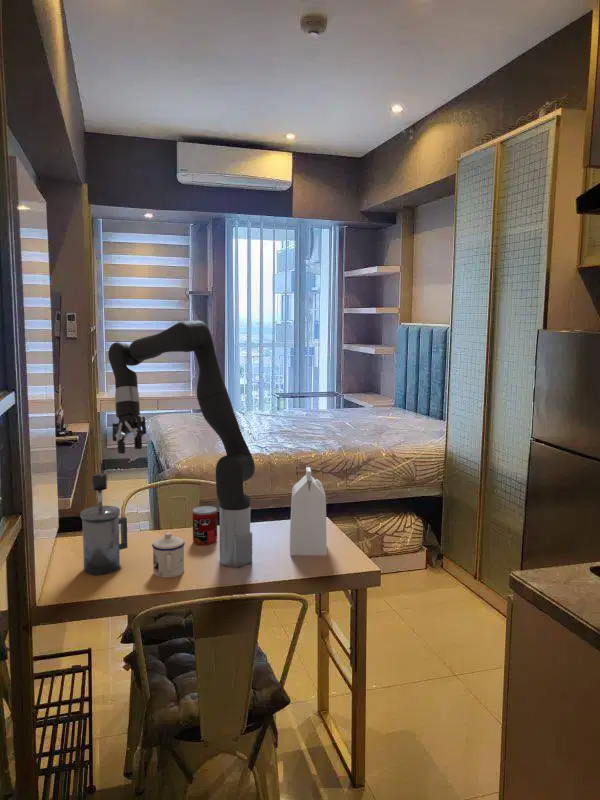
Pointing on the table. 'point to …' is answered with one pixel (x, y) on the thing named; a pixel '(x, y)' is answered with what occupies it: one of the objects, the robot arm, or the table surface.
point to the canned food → (205, 525)
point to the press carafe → (102, 539)
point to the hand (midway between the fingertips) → (129, 451)
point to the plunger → (99, 486)
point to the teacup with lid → (168, 556)
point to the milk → (308, 517)
